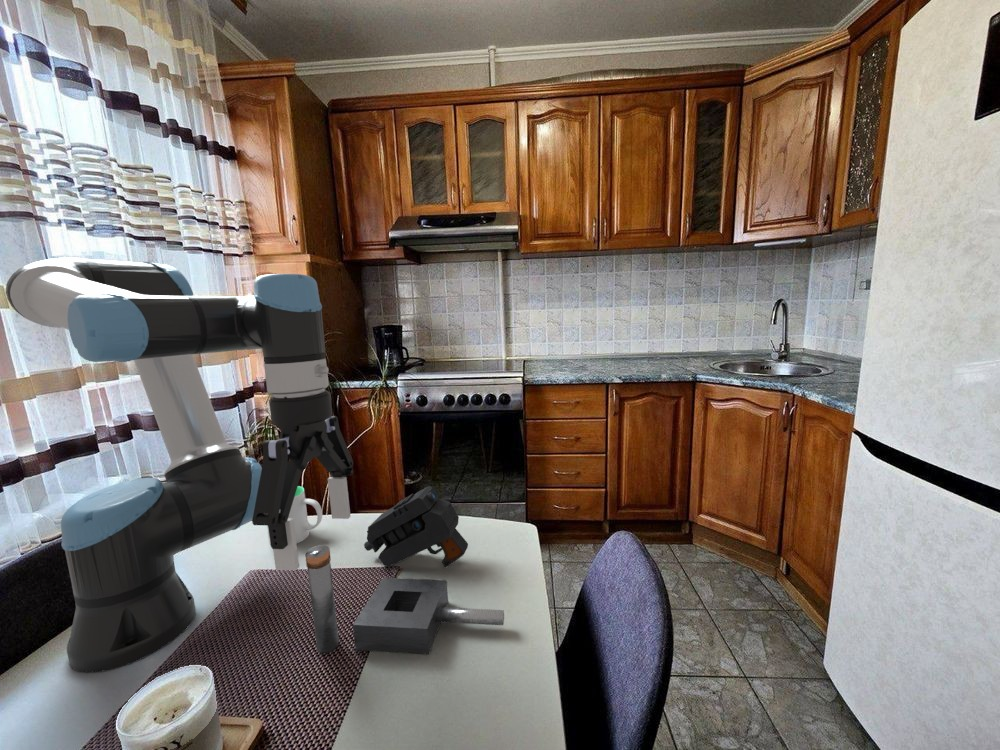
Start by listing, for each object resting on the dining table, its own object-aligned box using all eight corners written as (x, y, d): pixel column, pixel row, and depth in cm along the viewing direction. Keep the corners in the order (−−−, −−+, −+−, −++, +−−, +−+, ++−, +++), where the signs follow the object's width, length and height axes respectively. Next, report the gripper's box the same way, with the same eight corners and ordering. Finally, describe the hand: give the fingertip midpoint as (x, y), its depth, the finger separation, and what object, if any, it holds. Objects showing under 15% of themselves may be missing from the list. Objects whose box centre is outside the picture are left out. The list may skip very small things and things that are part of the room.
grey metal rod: (311, 653, 61) (300, 556, 59) (323, 636, 64) (313, 544, 62) (332, 654, 61) (321, 557, 58) (343, 637, 64) (333, 544, 62)
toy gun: (468, 560, 77) (425, 491, 77) (388, 599, 82) (347, 534, 82) (477, 543, 83) (436, 478, 83) (402, 580, 88) (363, 519, 88)
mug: (332, 527, 98) (327, 484, 97) (316, 546, 90) (311, 499, 89) (281, 529, 99) (276, 486, 97) (261, 547, 91) (255, 501, 89)
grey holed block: (355, 649, 61) (352, 624, 61) (385, 599, 72) (383, 577, 71) (499, 659, 58) (497, 632, 58) (507, 605, 69) (506, 582, 69)
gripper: (262, 412, 44) (287, 599, 47) (366, 377, 69) (378, 501, 72) (198, 414, 45) (226, 597, 48) (323, 379, 70) (337, 501, 73)
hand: (317, 540), depth 60 cm, fingers open, 13 cm apart
